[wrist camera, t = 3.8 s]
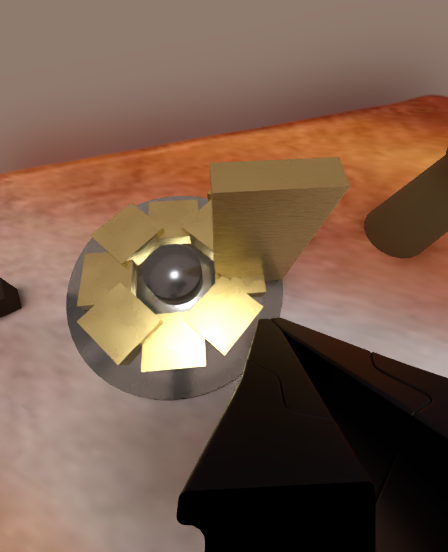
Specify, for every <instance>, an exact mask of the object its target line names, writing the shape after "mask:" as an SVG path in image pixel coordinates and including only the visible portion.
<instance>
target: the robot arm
mask: <svg viewBox="0 0 448 552" xmlns="http://www.w3.org/2000/svg"><path fill="white" fill-rule="evenodd" d="M177 520H178V522H179V523H180V524H182V525H192V526H195V527H196V528H198V529H200V530H201V532H202V533H203V535H204V537H205V552H448V378H446V377H443V376H440V375H437V374H434V373H431V372H428V371H425V370H422V369H419V368H416V367H413V366H410V365H407V364H405V363H402V362H399V361H396V360H393V359H391V358H388V357H385V356H382V355H380V354H377V353H374V352H372V353H371V352H370V351H368V350H365V349H362V348H360V347H357V346H354V345H352V344H349V343H347V342H344V341H341V340H339V339H336V338H333V337H331V336H328V335H325V334H323V333H320V332H317V331H315V330H312V329H309V328H307V327H304V326H301V325H299V324H296V323H293V322H291V321H288V320H285V319H283V318H271V319H268V318H267V319H259V320H258V322H257V326H256V330H255V333H254V337H253V340H252V344H251V347H250V351H249V355H248V358H247V362H246V364H245V368H244V371H243V374H242V377H241V380H240V382H239V384H238V386H237V388H236V390H235V393H234V395H233V396H232V398H231V400H230V402H229V404H228V406H227V408H226V410H225V411H224V413H223V415H222V417H221V419H220V421H219V423H218V425H217V426H216V428H215V430H214V432H213V434H212V436H211V438H210V440H209V441H208V443H207V445H206V447H205V449H204V451H203V453H202V455H201V456H200V458H199V460H198V462H197V464H196V466H195V468H194V470H193V471H192V473H191V475H190V477H189V479H188V481H187V483H186V485H185V486H184V488H183V490H182V492H181V494H180V496H179V499H178V508H177Z"/></svg>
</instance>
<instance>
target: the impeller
mask: <svg viewBox="0 0 448 552" xmlns="http://www.w3.org/2000/svg"><path fill="white" fill-rule="evenodd" d="M207 194H208V199H205V198H199V197H192V196H174V197H165V198H159V199H155V200H151V201H148V202H144V203H142V204H139V205H137V206H136V207H138V208H139V209H140V210H141V211H143V212H144V213H145V214H146V215H148V214H149V202H156V201H175V200H194V199H197V200H198V208H199V210H200V209H201V208H202V207H203V206H204V205H205V204H207V203H208V202H209V201H210V200H211V188H210V190H209V192H208V193H207ZM105 252H106V251H105V250H104V249H103V248H102V247H101V246H100V245H99V244H98V243H97V242H96V241H95V240H94V239H93V238H92V239H91V240H90V241H89V242H88V244H87V245H86V246H85V248H84V249H83V251H82V253H81V254H80V256H79V258H78V260H77V262H76V264H75V266H74V269H73V271H72V275H71V278H70V281H69V285H68V292H67V308H66V311H67V319H68V325H69V329H70V332H71V336H72V339H73V341H74V343H75V345H76V347H77V349H78V352H79V353H80V354H81V356H82V357H83V359H84V360H85V362H86V363H87V364H88V365H89V366H90V367H91V369H92V370H93V371H94V372H95V373H96V374H97V375H98V376H100V377H101V378H102V379H104V380H105V381H106V382H108V383H109V384H111V385H113V386H115V387H116V388H118V389H120V390H122V391H124V392H127V393H130V394H133V395H136V396H139V397H144V398H149V399H155V400H177V399H185V398H191V397H195V396H198V395H202V394H206V393H208V392H210V391H213V390H215V389H217V388H220V387H222V386H223V385H225V384H227V383H228V382H230V381H232V380H233V379H235V378H236V377H238V376H239V375H240V374H241V373H243V371H244V368H245V364H246V362H247V358H248V355H249V351H250V347H251V344H252V340H253V337H254V333H255V330H256V326H257V322H258V320H259V319H267V318H268V319H271V318H279V317H280V312H281V307H282V298H283V284H282V279H281V280H267V281H265V287H266V293H265V295H264V296H263V297H251V298H253V299H254V300H255V301H257V302H258V303H259V304H260V305H262V306H263V308H262V310H261V311H260V312H259V314H258V315H257V316H256V317H255V319H254V320H253V321H252V322H251V324H250V325H249V326H248V327H247V329H246V330H245V331H244V332H243V334H242V335H241V336H240V337H239V339H238V340H237V341H236V342H235V344H234V345H233V346H232V347H231V349H230V350H229V351H228V353H227V354H226V355H225V356H223V355H221V354H220V353H219V352H218V351H217V350H216V349H215V348H214V347H213V346H211V345H210V344H209V343H208V342H207V341H206V358H207V366H203V367H192V368H181V369H171V370H160V371H149V372H141V359H142V351H141V353H140V354H139V355H138V356H137V357H136V358H135V359H134V360H133V361H132V362H131V363H130V364H129V365H117V364H116V363H115V362H114V360H113V359H112V358H111V357H110V356H109V355H108V354H107V353H106V352H105V351H104V350H103V349H102V348H101V347H100V346H99V345H98V344H97V343H96V342H95V340H94V339H93V338H92V337H91V336H90V335H89V334H88V333H87V332H86V331H85V330H84V329H83V328H82V327H81V326H80V325H79V324H78V323H77V321H78V320H79V319H80V318H81V317H82V316H83V315H84V314H86V313H87V312H88V311H89V310H85V309H82V308H80V307H78V306H77V301H78V295H79V289H80V283H81V277H82V271H83V264H84V258H85V254H89V253H105ZM214 284H215V272H214V261H213V260H212V259H210V258H209V257H208V256H207V255H205V254H204V253H203V252H202V251H200V250H199V249H198V248H196V247H195V246H194V245H193V244H191V243H190V244H168V245H161V246H159V247H158V248H157V249H156V250H154V251H153V252H152V253H151V254H150V255H149V256H148V257H147V258H146V259H145V260H144V261H143V262H142V263H141V264H140V265H139V266H138V273H137V289H136V297H137V298H138V299H140V300H141V301H142V302H143V303H144V304H145V305H146V306H147V307H148V308H149V309H150V310H151V311H153V312H154V313H155V314H164V313H177V312H189V311H190V310H191V309H192V308H193V307H194V306H195V305H196V303H197V302H198V301H199V300H200V299H201V298H202V297H203V296H204V295H205V294H206V293H207V292H208V290H209V289H210V288H211V287H212V286H213V285H214Z"/></svg>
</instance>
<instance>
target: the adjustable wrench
mask: <svg viewBox="0 0 448 552" xmlns="http://www.w3.org/2000/svg"><path fill="white" fill-rule="evenodd" d="M19 309H21V304H20V299H19V295H18V291H17V289H16V288H15V287H13V286H12V285H10V284H9V283H7V282H6V281H5V280H3V279H2V278H0V317H3V316H6V315H8V314H10V313H12V312H15V311H17V310H19Z"/></svg>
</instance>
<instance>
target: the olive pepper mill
mask: <svg viewBox="0 0 448 552" xmlns="http://www.w3.org/2000/svg"><path fill="white" fill-rule="evenodd" d="M365 231H366V234H367V237H368V238H369V240H370V241H371V242H372V244H373V245H374V246H376V247H377V248H378V249H379V250H380V251H382V252H384V253H386V254H388V255H390V256H394V257H398V258H411V257H413V256H415V255H418V254H419V253H421V252H422V251H423V250H424V249H426V248H427V247H428V246H429V245H431V244H432V243H433V242H435V241H436V240H437V239H438V238H440V237H441V236H442V235H444V234H445V233H446V232H447V231H448V148H447V151H446V155H445V156H444V157H442V158H441V159H440V160H438V161H437V162H436V163H434V164H433V165H432V166H430V167H429V168H428V169H427V170H425V171H424V172H423V173H421V174H420V175H419V176H417V177H416V178H415V179H413V180H412V181H411V182H409V183H408V184H407V185H405V186H404V187H403V188H402V189H400V190H399V191H398V192H396V193H395V194H394V195H392V196H391V197H390V198H388V199H387V200H386V201H384V202H383V203H382V204H381V205H379V206H378V207H377V208H375V209H374V210H373V211H372V212H370V213H369V214H368V215H367V217H366V220H365Z"/></svg>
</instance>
